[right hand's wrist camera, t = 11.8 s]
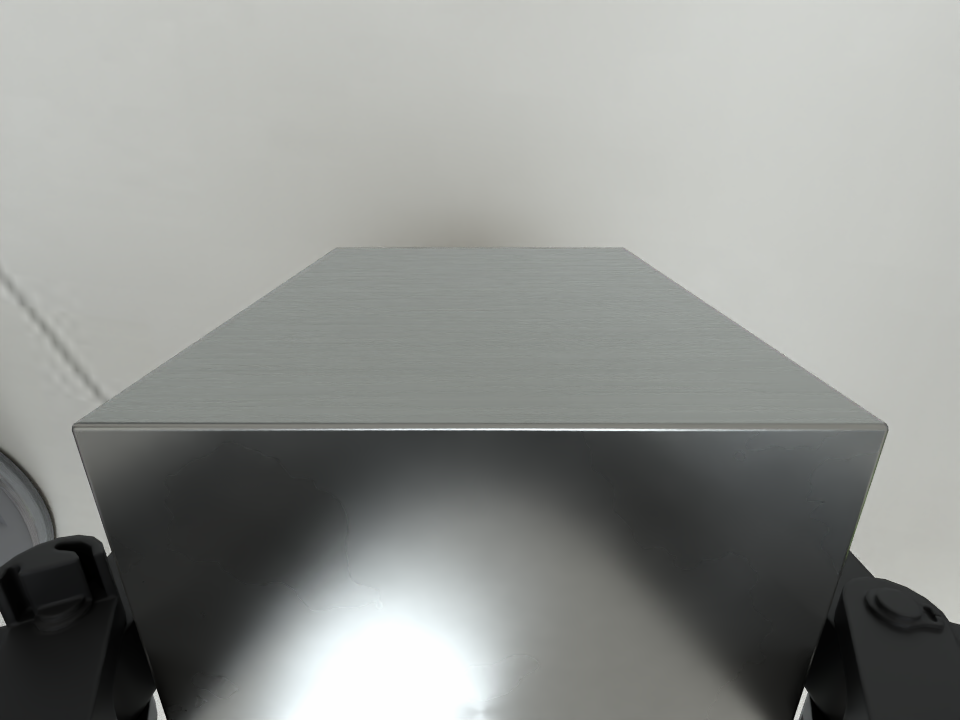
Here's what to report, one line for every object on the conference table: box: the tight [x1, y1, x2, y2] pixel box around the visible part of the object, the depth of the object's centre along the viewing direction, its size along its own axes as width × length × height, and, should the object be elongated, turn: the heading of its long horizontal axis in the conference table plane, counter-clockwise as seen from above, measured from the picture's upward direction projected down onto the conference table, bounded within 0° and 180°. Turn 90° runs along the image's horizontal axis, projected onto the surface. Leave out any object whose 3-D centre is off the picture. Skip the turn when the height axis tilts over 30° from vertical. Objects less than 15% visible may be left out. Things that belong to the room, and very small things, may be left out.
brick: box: [72, 248, 888, 720], centre depth 12 cm, size 8×9×11 cm
